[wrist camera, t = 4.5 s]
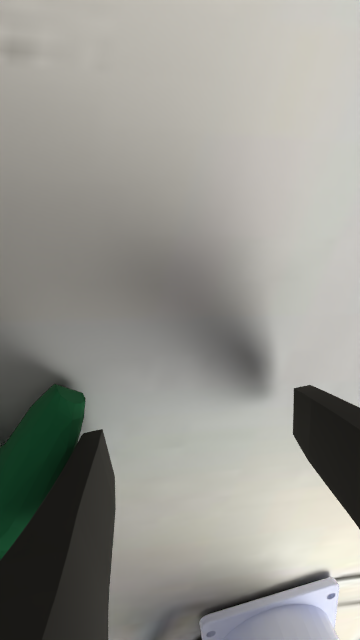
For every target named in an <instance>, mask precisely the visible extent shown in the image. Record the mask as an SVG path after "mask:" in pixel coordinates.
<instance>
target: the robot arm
mask: <svg viewBox="0 0 360 640" xmlns="http://www.w3.org/2000/svg"><path fill="white" fill-rule="evenodd" d="M293 435H294V437H295V439H296V440H297V442H298V444H299V446H300V447H301V449H302V451H303V453H304V454H305V456H306V458H307V459H308V461H309V462H310V464H311V465H312V466H313V468H314V469H315V470H316V472H317V473H318V474H319V476H320V477H321V478H322V480H323V481H324V482H325V484H326V485H327V486H328V488H329V489H330V490H331V491H332V493H333V494H334V495H335V497H336V498H337V499H338V501H339V502H340V503H341V505H342V506H343V507H344V509H345V510H346V511H347V513H348V514H349V515H350V516H351V518H352V519H353V520H354V522H355V523H356V525H357V526H358V527H359V529H360V408H359V407H357V406H355V405H353V404H350V403H348V402H346V401H344V400H342V399H340V398H338V397H336V396H334V395H331V394H329V393H327V392H325V391H323V390H321V389H318V388H316V387H313V386H311V385H308V386H303V387H298V388H294V413H293ZM114 520H115V477H114V472H113V468H112V464H111V460H110V456H109V453H108V449H107V445H106V441H105V437H104V433H103V429H101V430H96V431H92V432H87V433H84V434H83V435H82V436H81V438H80V440H79V441H78V443H77V445H76V447H75V449H74V451H73V452H72V454H71V456H70V458H69V460H68V461H67V463H66V465H65V466H64V468H63V470H62V472H61V473H60V475H59V477H58V478H57V480H56V481H55V483H54V485H53V486H52V488H51V490H50V491H49V493H48V494H47V496H46V497H45V499H44V500H43V502H42V503H41V505H40V506H39V508H38V509H37V511H36V512H35V514H34V515H33V517H32V518H31V520H30V521H29V523H28V524H27V525H26V527H25V528H24V530H23V531H22V532H21V534H20V535H19V536H18V538H17V539H16V541H15V542H14V543H13V545H12V546H11V547H10V548H9V550H8V551H7V552H6V554H5V555H4V556H3V557H2V559H1V560H0V640H108V602H109V584H110V572H111V559H112V546H113V534H114ZM338 594H339V585H338V583H337V581H336V579H334V578H332V577H329V578H325V579H322V580H318V581H315V582H312V583H309V584H305V585H302V586H299V587H296V588H292V589H289V590H286V591H282V592H279V593H276V594H273V595H269V596H266V597H263V598H260V599H256V600H253V601H250V602H247V603H243V604H240V605H237V606H233V607H230V608H227V609H224V610H220V611H217V612H214V613H211V614H207V615H205V616H203V617H202V618H201V620H200V622H199V624H200V630H201V636H202V640H340V639H339V637H338V635H337V633H336V631H335V621H336V612H337V603H338Z"/></svg>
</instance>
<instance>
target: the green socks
mask: <svg viewBox="0 0 360 640" xmlns="http://www.w3.org/2000/svg"><path fill="white" fill-rule="evenodd" d="M84 409H85V397H84V395H83V393H81V392H78V391H75V390H71V389H68V388H65V387H62V386H59V385H56V384H54V385H53V386H52V387H51V388H49V389H48V390H47V391H46V392H45V393H44V394H43V395H42V396H41V397H40V398H39V399H38V400H37V401H36V402H35V403H34V404H33V405H32V406H31V408H30V409H29V410H28V412H27V413H26V415H25V416H24V418H23V419H22V421H21V422H20V423H19V425H18V426H17V428H16V429H15V431H14V432H13V434H12V435H11V436H10V438H9V439H8V441H7V442H6V443H5V444H4V445H3V446H1V447H0V560H1V559H2V557H3V556H4V555H5V554H6V552H7V551H8V550H9V548H10V547H11V546H12V545H13V543H14V542H15V541H16V539H17V538H18V536H19V535H20V534H21V532H22V531H23V530H24V528H25V527H26V525H27V524H28V523H29V521H30V520H31V518H32V517H33V515H34V514H35V512H36V511H37V509H38V508H39V506H40V505H41V503H42V502H43V500H44V499H45V497H46V496H47V494H48V493H49V491H50V490H51V488H52V486H53V485H54V483H55V481H56V480H57V478H58V477H59V475H60V473H61V472H62V470H63V468H64V466H65V465H66V463H67V461H68V460H69V458H70V456H71V454H72V452H73V451H74V449H75V447H76V445H77V443H78V439H79V435H80V430H81V426H82V422H83V418H84Z"/></svg>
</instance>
